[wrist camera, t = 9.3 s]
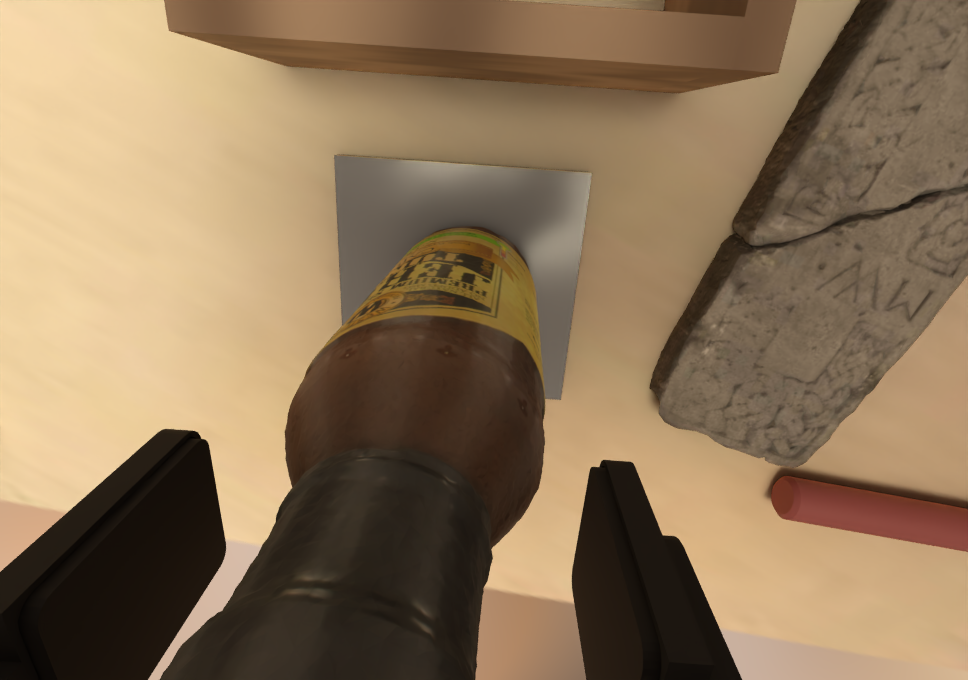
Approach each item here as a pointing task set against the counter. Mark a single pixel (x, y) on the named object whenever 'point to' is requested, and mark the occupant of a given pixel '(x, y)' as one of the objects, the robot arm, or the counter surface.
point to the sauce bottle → (395, 480)
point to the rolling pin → (871, 512)
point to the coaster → (465, 202)
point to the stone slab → (834, 242)
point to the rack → (504, 39)
